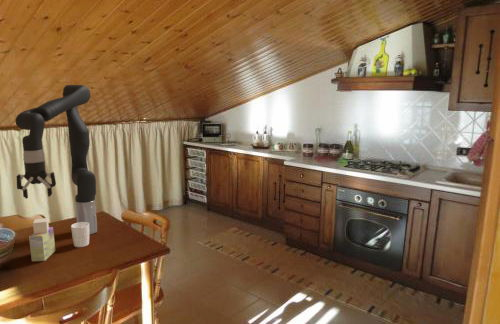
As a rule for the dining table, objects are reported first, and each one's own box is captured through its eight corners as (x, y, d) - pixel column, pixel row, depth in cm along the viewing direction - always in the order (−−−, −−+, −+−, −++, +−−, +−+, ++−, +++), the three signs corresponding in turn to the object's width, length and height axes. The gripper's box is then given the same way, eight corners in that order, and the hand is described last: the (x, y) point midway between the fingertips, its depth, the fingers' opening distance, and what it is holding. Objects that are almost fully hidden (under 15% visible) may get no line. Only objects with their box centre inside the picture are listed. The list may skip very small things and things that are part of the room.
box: (42, 251, 166) (40, 226, 163) (55, 251, 166) (53, 226, 164) (31, 261, 156) (28, 236, 153) (44, 261, 156) (42, 235, 154)
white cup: (94, 242, 176) (92, 223, 174) (81, 249, 169) (80, 228, 167) (81, 240, 179) (80, 221, 177) (68, 246, 171) (67, 226, 169)
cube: (48, 228, 162) (47, 218, 161) (47, 232, 157) (46, 221, 156) (36, 229, 160) (35, 219, 159) (34, 234, 156) (32, 223, 155)
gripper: (54, 157, 158) (57, 193, 162) (16, 159, 153) (20, 196, 156) (52, 161, 151) (55, 198, 155) (12, 163, 146) (17, 201, 149)
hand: (38, 197), depth 155 cm, fingers open, 8 cm apart
